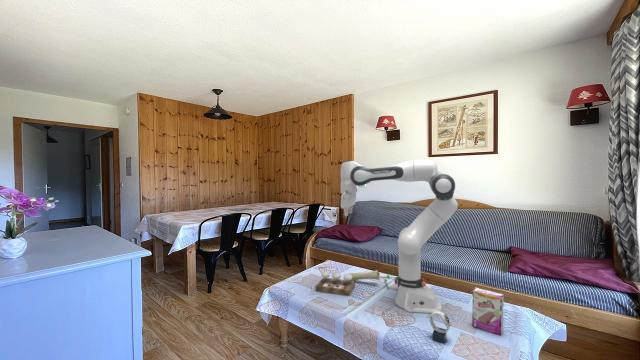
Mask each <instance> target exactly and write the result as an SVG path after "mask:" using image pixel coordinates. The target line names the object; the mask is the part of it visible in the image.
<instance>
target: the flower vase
mask: <svg viewBox="0 0 640 360" xmlns="http://www.w3.org/2000/svg"><path fill="white" fill-rule="evenodd" d="M394 271H395V270H394V269H393V272H392V273H391V272H390V274H389V272H387V273H386V275H384V276H380V275H381V274H380V272H379V270H378V269H376V270H373V271H370V272H360V273H359V272H358V273H356V272H354V273H353V272H349V273H348V274H351V275H352V280H349V281H359V280H368V279H369V280H378V281H380V278H381V279H383V280H384V282H383V283H384V284H385V285H386V288H387V290H389V289H390V288H389V285H388V281H387V279H390V280H393V282H394V285H397V278H398V275H399V272H398V274H397V276H393V273H394Z"/></svg>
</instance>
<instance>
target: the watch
mask: <svg viewBox="0 0 640 360" xmlns="http://www.w3.org/2000/svg"><path fill="white" fill-rule="evenodd" d="M430 314H431V315H430V316H429V321H428V322H429V323H430V326H431V328H432V329H433V331H432V341H434V342H437V343H440V344H445V343H446V339H447V334H448V333H447V332H449V330H450V327H451V325H452V324H451V320H450V318H449V315H448V314H447V313H444V312H443V311H442V310H441V311H434V312H433V313H430ZM433 315H439V316H440V318H441V321H442V323H443V325H444V326H445V327H446V328H442V327H438V326H436V323H435V322H434V319H433Z"/></svg>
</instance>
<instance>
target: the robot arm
mask: <svg viewBox="0 0 640 360" xmlns="http://www.w3.org/2000/svg"><path fill="white" fill-rule="evenodd" d="M384 180H388V181H389V180H392V181H398V182H404V183H405V182H407V183H409V182H410V183H413V182H426V183H428V184H429V188H430V190H431V191H432V193H433V194H434V196H435V198H434V200H433V201H432V202H431V203H430V204H429V205H428V206H427V207H425V209H424V210H422V211H421V213H420V214H418V215H417V217H416V218H415V219H414V220H413V221H412V223H410V225H409V226H407V227H404V228H402V229H401V231H400V232H399V234H398V238H397V246H398V268H397V269H398V273H399V275H398V274H397V277H398V278H397V284H396V285H397V294H396V297H395V304H396V305H397V306H398V307H400V308H402V309H404V310H405V311H406V312H409V313H418V314H419V313H420V314H422V313H423V314H432V313H433V312H434V311H441V312H442V303H441V302H440V301H439V300H438V299H437V296H436V294H435V292H434V291H433V290H432V289H431V288H430V287H428V286H427V282H426V280H425V278H424V277H421V276H422V275H421V274H422V273H421V271H422V269H421V268H422V267H421V266H422V265H421V261H422V260H421V258H422V257H421V256H422V255H421V252H422V251H421V249H422V247H423V246H424V245H425V244H426V243H427V241H428V240H430V238H431V237H432V236H433V234H434V233H436V232H437V230H439V229H440V228H441V227H442V226H443V225H444V224H445V223H447V221H448V220H449V219H450V218H451V217H452V216H453V214H455V212H456V211H457V209H458V208H459V207H458V205H459V204H458V202H457V200H456V198H454V193H455V190H456V181H455V180H454V178H453V177H452V176H451V175H449V174H447V173H442V172H440V171H439V169H438V165H437V163H436V162H435V161H434V160H432V159H431V160H430V159H411V160H410V159H409V160H406V161H402V162H399V163H396V164H393V165H390V166H386V167H385V166H384V167H376V168H375V167H374V168H370V167H368V166H364V165H362V164H360V163H358V162H356V160H345V161H343V162H342V163H341V165H340V194H341V196H340V209H343V212H344V215H343V216H345V217H348V216H349V214H352V213H353V209H354V206H355V205H356V200H357V192H358V188H357V186H359V187H360V186H361V187H362V186H364V185H367V184H370V183H372V182H374V181H384Z"/></svg>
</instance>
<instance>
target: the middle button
mask: <svg viewBox="0 0 640 360" xmlns="http://www.w3.org/2000/svg"><path fill="white" fill-rule="evenodd" d="M331 277H332V279H340V280H341V277H342V275H341V273H340V272H333V273H331Z"/></svg>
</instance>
